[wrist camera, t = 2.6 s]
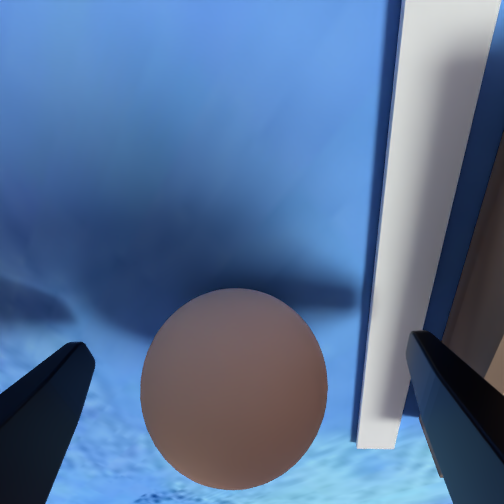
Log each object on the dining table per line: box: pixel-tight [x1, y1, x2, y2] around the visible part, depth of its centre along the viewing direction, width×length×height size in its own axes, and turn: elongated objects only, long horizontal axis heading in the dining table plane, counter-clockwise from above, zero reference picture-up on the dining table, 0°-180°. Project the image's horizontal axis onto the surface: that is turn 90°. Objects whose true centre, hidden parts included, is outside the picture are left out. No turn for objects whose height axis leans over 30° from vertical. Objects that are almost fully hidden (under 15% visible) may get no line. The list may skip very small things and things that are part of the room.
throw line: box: [356, 0, 501, 449], centre depth 9 cm, size 2×16×1 cm, turn 8°
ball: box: [140, 288, 328, 490], centre depth 8 cm, size 4×4×4 cm
